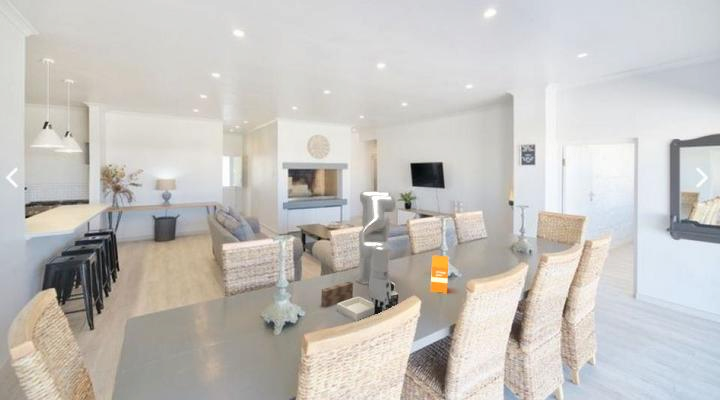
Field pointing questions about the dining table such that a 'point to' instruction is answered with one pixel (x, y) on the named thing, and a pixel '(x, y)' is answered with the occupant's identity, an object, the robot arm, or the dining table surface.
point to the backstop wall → (336, 294)
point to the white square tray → (356, 308)
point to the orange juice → (439, 274)
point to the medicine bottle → (392, 297)
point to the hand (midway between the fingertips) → (378, 314)
